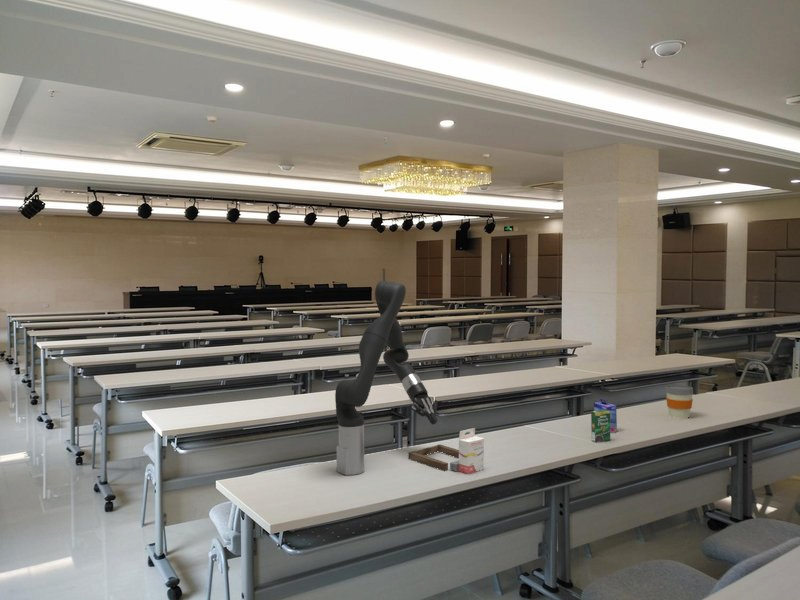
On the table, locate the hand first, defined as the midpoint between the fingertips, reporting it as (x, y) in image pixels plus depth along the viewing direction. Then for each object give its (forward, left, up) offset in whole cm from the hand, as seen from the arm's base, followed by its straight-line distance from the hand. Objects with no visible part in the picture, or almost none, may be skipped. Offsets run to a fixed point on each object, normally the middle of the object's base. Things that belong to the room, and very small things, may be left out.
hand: (435, 423), depth 234 cm
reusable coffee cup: (+139, -30, -14) cm, 143 cm away
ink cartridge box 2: (+88, -20, -14) cm, 91 cm away
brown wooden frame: (0, -4, -14) cm, 14 cm away
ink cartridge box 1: (0, -20, -14) cm, 24 cm away
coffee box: (+70, -29, -14) cm, 77 cm away
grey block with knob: (0, -16, -14) cm, 21 cm away
